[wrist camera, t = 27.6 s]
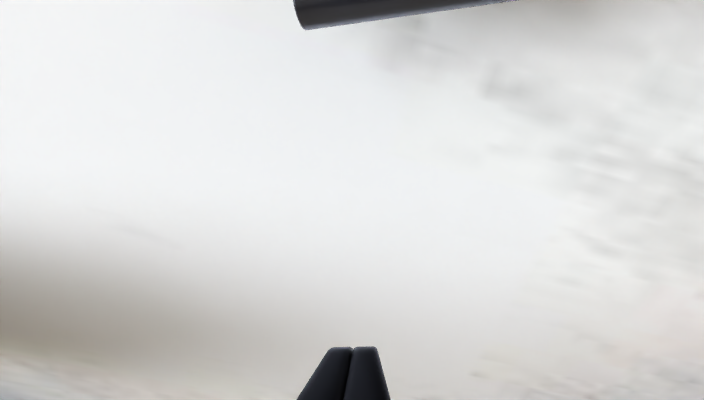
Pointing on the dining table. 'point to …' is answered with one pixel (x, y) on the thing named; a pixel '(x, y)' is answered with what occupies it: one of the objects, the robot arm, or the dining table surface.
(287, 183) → the dining table surface
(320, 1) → the drawer
